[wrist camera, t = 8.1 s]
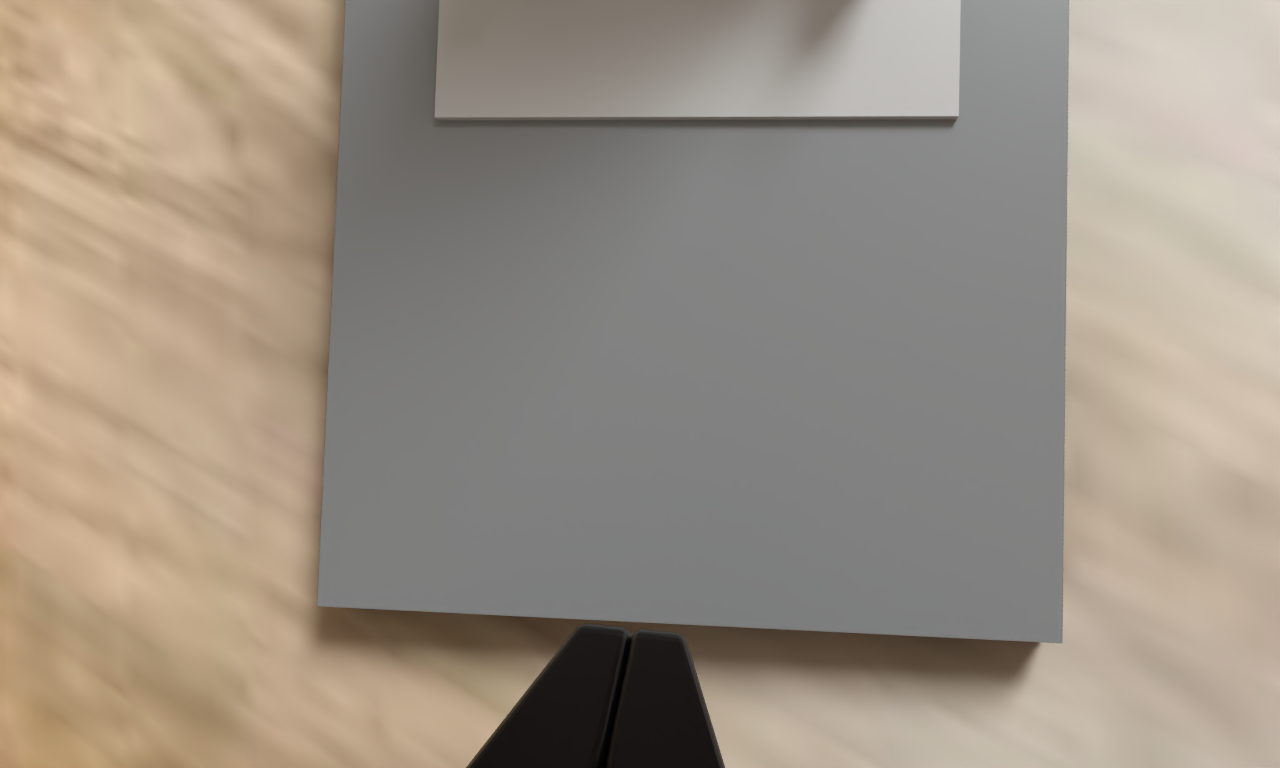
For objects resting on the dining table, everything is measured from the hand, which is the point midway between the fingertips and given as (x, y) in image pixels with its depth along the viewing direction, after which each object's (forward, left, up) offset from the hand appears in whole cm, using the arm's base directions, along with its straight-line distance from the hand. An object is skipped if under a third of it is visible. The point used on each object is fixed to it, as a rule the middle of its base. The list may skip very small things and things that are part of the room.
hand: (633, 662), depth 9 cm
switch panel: (+6, +4, -13) cm, 15 cm away
